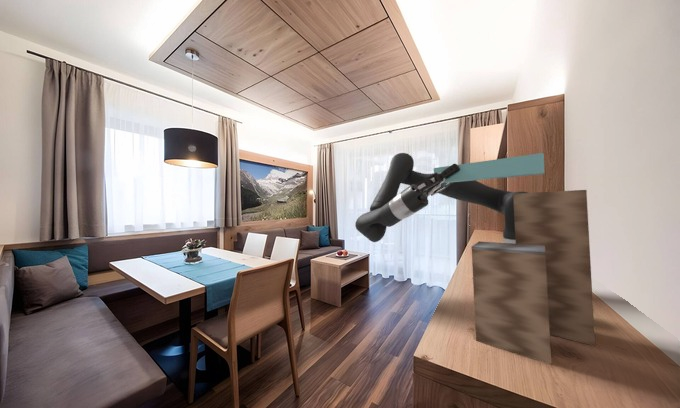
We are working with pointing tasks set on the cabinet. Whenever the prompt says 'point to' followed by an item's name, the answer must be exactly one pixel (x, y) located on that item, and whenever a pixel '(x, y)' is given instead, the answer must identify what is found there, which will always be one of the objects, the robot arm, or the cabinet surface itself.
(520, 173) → the batten
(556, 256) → the stand
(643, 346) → the cabinet surface
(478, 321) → the brown wooden block
